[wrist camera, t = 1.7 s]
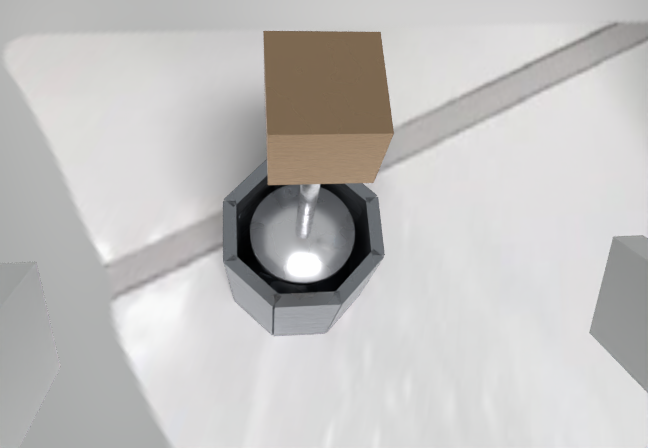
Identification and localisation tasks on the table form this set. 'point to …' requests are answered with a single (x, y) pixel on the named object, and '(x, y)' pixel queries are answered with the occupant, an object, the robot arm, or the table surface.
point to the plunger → (318, 147)
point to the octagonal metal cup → (286, 299)
